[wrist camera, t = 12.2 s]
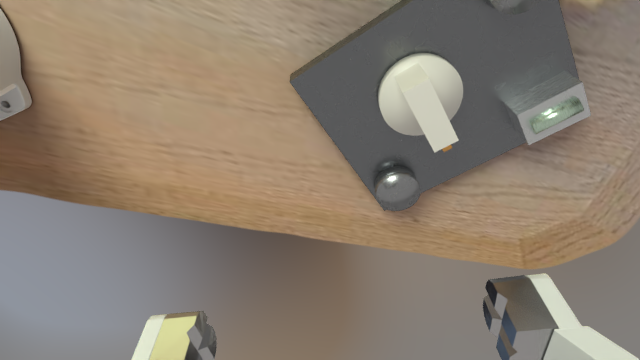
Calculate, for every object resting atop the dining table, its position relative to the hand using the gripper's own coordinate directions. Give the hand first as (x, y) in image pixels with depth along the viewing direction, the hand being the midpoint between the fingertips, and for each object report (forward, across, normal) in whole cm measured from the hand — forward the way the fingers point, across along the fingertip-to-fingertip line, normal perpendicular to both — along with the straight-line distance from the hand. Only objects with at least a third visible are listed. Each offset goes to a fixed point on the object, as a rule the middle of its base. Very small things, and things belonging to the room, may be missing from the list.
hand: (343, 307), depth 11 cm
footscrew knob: (+29, -9, +8) cm, 31 cm away
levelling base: (+31, -11, +8) cm, 34 cm away
